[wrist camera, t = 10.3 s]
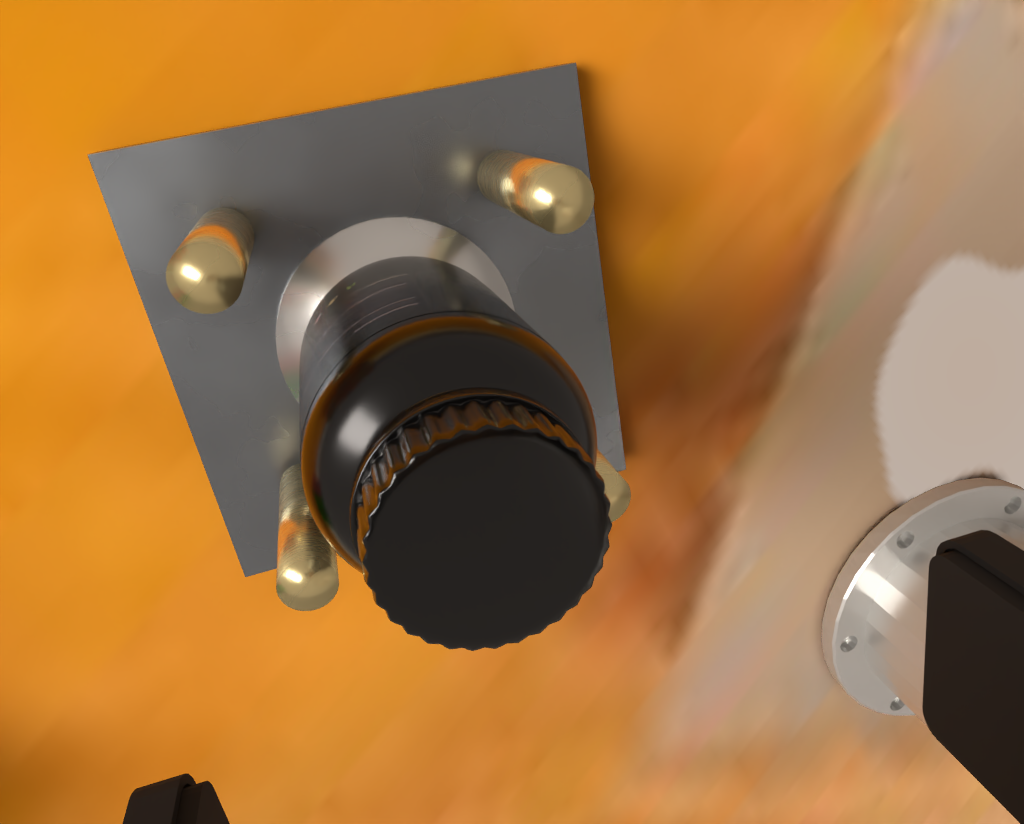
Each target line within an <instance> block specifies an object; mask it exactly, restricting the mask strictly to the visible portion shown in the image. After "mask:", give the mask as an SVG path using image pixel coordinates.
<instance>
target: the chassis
mask: <svg viewBox="0 0 1024 824" xmlns="http://www.w3.org/2000/svg"><path fill="white" fill-rule="evenodd" d="M88 157H89V160H90V163H91V165H92V168H93V171H94V173H95V176H96V179H97V181H98V184H99V187H100V189H101V192H102V195H103V197H104V200H105V203H106V205H107V208H108V211H109V214H110V216H111V219H112V222H113V224H114V227H115V230H116V232H117V235H118V238H119V240H120V243H121V246H122V248H123V251H124V254H125V256H126V259H127V262H128V264H129V267H130V270H131V272H132V275H133V278H134V280H135V283H136V286H137V288H138V291H139V294H140V296H141V299H142V302H143V304H144V307H145V310H146V313H147V315H148V318H149V321H150V323H151V326H152V329H153V331H154V334H155V337H156V339H157V342H158V345H159V347H160V350H161V353H162V355H163V358H164V361H165V363H166V366H167V369H168V371H169V374H170V377H171V379H172V382H173V385H174V387H175V390H176V393H177V395H178V398H179V401H180V403H181V406H182V409H183V411H184V414H185V417H186V420H187V422H188V425H189V428H190V430H191V433H192V436H193V438H194V441H195V444H196V446H197V449H198V452H199V454H200V457H201V460H202V462H203V465H204V468H205V470H206V473H207V476H208V478H209V481H210V484H211V486H212V489H213V492H214V494H215V497H216V500H217V502H218V505H219V508H220V510H221V513H222V516H223V518H224V521H225V524H226V527H227V529H228V532H229V535H230V537H231V540H232V543H233V545H234V548H235V551H236V553H237V556H238V559H239V561H240V564H241V567H242V569H243V572H244V575H245V577H247V576H251V575H255V574H258V573H262V572H265V571H269V570H272V569H276V568H277V585H276V588H277V594H278V596H279V598H280V599H281V601H282V602H283V603H284V604H285V605H287V606H288V607H290V608H292V609H295V610H300V611H311V610H316V609H319V608H321V607H323V606H325V605H326V604H328V603H329V602H330V601H331V600H332V599H333V598H334V596H335V595H336V593H337V591H338V587H339V579H338V568H337V558H336V551H335V550H334V549H333V548H332V547H331V546H330V545H329V543H328V542H327V541H326V539H325V538H324V536H323V535H322V534H321V532H320V530H319V529H318V527H317V525H316V523H315V522H314V519H313V517H312V515H311V513H310V510H309V508H308V504H307V501H306V498H305V494H304V489H303V483H302V478H301V468H300V424H299V364H300V352H301V345H302V341H303V337H304V333H305V330H306V328H307V325H308V322H309V320H310V318H311V316H312V314H313V312H314V310H315V309H316V307H317V306H318V304H319V303H320V301H321V300H322V299H323V297H324V296H325V295H326V294H327V293H328V292H329V291H330V290H331V289H332V287H334V286H335V285H336V284H337V283H338V282H339V281H340V280H342V279H343V278H345V277H346V276H347V275H349V274H350V273H352V272H354V271H355V270H357V269H359V268H361V267H363V266H366V265H368V264H370V263H373V262H376V261H379V260H383V259H388V258H392V257H401V256H419V257H428V258H433V259H438V260H441V261H445V262H447V263H450V264H452V265H455V266H457V267H459V268H461V269H463V270H465V271H467V272H468V273H470V274H471V275H473V276H474V277H476V278H477V279H478V280H480V281H481V282H482V283H483V284H485V285H486V286H487V287H488V288H490V289H491V290H492V291H493V292H494V293H495V294H496V295H497V296H498V297H499V298H500V299H502V300H503V301H504V302H505V303H506V304H507V305H508V306H509V307H510V308H511V309H512V310H513V311H515V312H516V313H517V314H518V315H519V316H520V317H521V318H522V319H523V320H524V321H525V322H527V323H528V324H529V325H530V326H531V327H532V328H533V329H534V330H535V331H536V332H537V333H538V334H540V335H541V336H542V337H543V338H544V339H545V340H546V341H547V342H548V343H549V344H550V345H551V346H552V347H553V348H554V349H555V350H556V351H557V352H558V353H559V354H560V355H561V356H562V357H563V358H564V360H565V361H566V362H567V363H568V365H569V366H570V367H571V368H572V370H573V371H574V372H575V374H576V375H577V377H578V379H579V380H580V382H581V383H582V386H583V388H584V390H585V392H586V394H587V396H588V399H589V402H590V404H591V407H592V411H593V415H594V419H595V424H596V432H597V460H596V467H595V469H596V471H597V472H598V473H599V474H600V475H601V477H602V478H603V480H604V483H605V492H604V493H605V494H606V495H607V497H608V498H609V500H610V503H611V504H610V510H609V514H608V515H609V517H610V520H611V522H613V521H615V520H616V519H618V518H619V517H620V516H621V515H622V514H623V513H624V512H625V511H626V509H627V507H628V505H629V502H630V498H631V492H630V488H629V486H628V484H627V482H626V481H625V480H624V479H623V478H622V476H621V475H620V474H619V473H618V471H622V470H625V469H626V465H625V457H624V449H623V441H622V433H621V425H620V417H619V409H618V400H617V392H616V384H615V376H614V368H613V360H612V352H611V343H610V335H609V327H608V319H607V311H606V303H605V295H604V287H603V278H602V270H601V262H600V254H599V246H598V238H597V230H596V222H595V213H594V190H593V187H592V184H591V181H590V173H589V165H588V157H587V148H586V140H585V132H584V124H583V116H582V108H581V100H580V91H579V83H578V75H577V67H576V63H569V64H562V65H556V66H551V67H546V68H540V69H535V70H530V71H524V72H519V73H514V74H509V75H503V76H498V77H493V78H487V79H482V80H477V81H471V82H466V83H461V84H456V85H450V86H445V87H440V88H434V89H429V90H424V91H418V92H413V93H408V94H402V95H397V96H392V97H387V98H381V99H376V100H371V101H365V102H360V103H355V104H349V105H344V106H339V107H334V108H328V109H323V110H318V111H312V112H307V113H302V114H296V115H291V116H286V117H281V118H275V119H270V120H265V121H259V122H254V123H249V124H243V125H238V126H233V127H228V128H222V129H217V130H212V131H206V132H201V133H196V134H190V135H185V136H180V137H175V138H169V139H164V140H159V141H153V142H148V143H143V144H137V145H132V146H127V147H122V148H116V149H111V150H106V151H100V152H96V153H92V154H89V155H88Z"/></svg>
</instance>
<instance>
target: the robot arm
mask: <svg viewBox="0 0 1024 824" xmlns="http://www.w3.org/2000/svg"><path fill="white" fill-rule="evenodd" d="M821 642H822V648H823V653H824V659H825V662H826V664H827V666H828V668H829V671H830V673H831V675H832V677H833V678H834V679H835V680H836V681H837V682H838V684H839V685H840V686H841V687H842V688H843V689H844V691H845V692H846V693H847V694H848V695H849V696H850V697H851V698H853V699H854V700H855V701H856V702H857V703H859V704H860V705H861V706H863V707H865V708H868V709H870V710H872V711H874V712H877V713H881V714H886V715H892V716H904V715H916V716H917V717H918V718H919V719H920V720H921V721H922V722H923V723H924V724H925V725H926V726H927V727H928V728H929V729H930V731H931V732H932V734H933V735H934V736H935V737H936V739H937V740H938V741H939V742H940V743H941V744H942V745H943V746H944V747H945V748H946V749H947V750H948V751H949V752H950V753H951V754H952V755H953V756H954V757H955V758H956V759H957V760H958V761H959V762H960V763H961V764H962V765H963V766H964V767H965V768H966V769H967V770H968V771H969V772H970V773H971V774H972V775H973V776H974V777H975V778H976V779H977V780H978V781H979V782H980V783H981V784H982V785H983V786H984V787H985V788H986V789H987V790H988V791H989V792H990V793H991V794H992V795H993V796H994V797H995V798H996V799H997V800H998V801H999V802H1000V803H1001V804H1002V805H1003V806H1004V807H1005V808H1006V809H1007V810H1008V811H1009V812H1010V813H1011V814H1012V815H1013V816H1014V817H1015V818H1016V819H1017V821H1018V822H1019V823H1020V824H1024V489H1023V488H1021V487H1019V486H1017V485H1014V484H1012V483H1009V482H1006V481H1003V480H1000V479H989V478H973V479H965V480H958V481H954V482H951V483H948V484H945V485H941V486H938V487H935V488H933V489H931V490H929V491H927V492H925V493H923V494H921V495H919V496H917V497H915V498H913V499H911V500H909V501H908V502H906V503H905V504H904V505H902V506H901V507H899V508H898V509H896V510H895V511H893V512H892V513H891V514H889V515H888V516H887V517H886V518H885V519H884V520H882V521H881V522H880V523H879V524H878V525H877V526H876V527H875V528H874V529H873V530H871V531H870V532H869V533H868V534H867V536H866V537H865V538H864V539H863V540H862V542H861V543H860V544H859V545H858V546H857V548H856V549H855V550H854V551H853V552H852V554H851V555H850V557H849V558H848V560H847V562H846V563H845V565H844V567H843V568H842V570H841V571H840V573H839V575H838V576H837V579H836V581H835V583H834V586H833V588H832V590H831V593H830V595H829V597H828V600H827V604H826V609H825V613H824V617H823V621H822V641H821ZM123 824H229V821H228V819H227V817H226V815H225V812H224V810H223V808H222V806H221V803H220V801H219V799H218V797H217V794H216V792H215V790H214V788H213V786H212V784H211V783H210V782H209V781H205V782H202V783H198V784H196V783H195V781H194V779H193V778H192V776H190V775H189V774H183V775H179V776H176V777H173V778H169V779H166V780H163V781H160V782H156V783H153V784H150V785H147V786H143V787H140V788H137V789H135V790H134V791H133V793H132V794H131V797H130V799H129V802H128V806H127V809H126V813H125V817H124V821H123Z"/></svg>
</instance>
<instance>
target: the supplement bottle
mask: <svg viewBox="0 0 1024 824" xmlns="http://www.w3.org/2000/svg"><path fill="white" fill-rule="evenodd" d="M299 424H300V468H301V478H302V483H303V489H304V494H305V498H306V501H307V504H308V508H309V510H310V513H311V515H312V517H313V519H314V522H315V523H316V525H317V527H318V529H319V530H320V532H321V534H322V535H323V536H324V538H325V539H326V541H327V542H328V543H329V545H330V546H331V547H332V548H333V549H334V550H335V551H336V552H337V554H338V555H339V556H340V557H342V558H343V559H344V560H345V561H346V562H347V563H348V564H350V565H351V566H352V567H354V568H355V569H357V570H358V571H359V572H361V573H362V574H363V575H364V580H365V582H366V584H367V585H368V586H369V587H370V589H372V593H373V598H374V601H375V603H376V604H377V605H378V606H379V607H381V608H383V609H385V611H386V614H387V616H388V618H389V620H390V621H392V622H394V623H396V624H399V625H402V626H403V628H404V630H405V631H406V632H407V634H410V635H414V636H420V637H421V638H422V639H423V640H424V641H425V642H427V643H428V644H441V645H443V646H444V647H446V648H448V649H456V648H465V649H467V650H471V651H474V650H478V649H481V648H484V647H486V648H493V649H496V648H498V647H501V646H503V645H505V644H507V643H519V642H520V641H522V640H523V639H525V638H526V637H527V636H529V635H534V634H538V633H541V632H542V631H543V630H544V629H545V628H546V627H547V626H548V625H549V624H552V623H555V622H557V621H559V620H561V618H562V617H563V616H564V614H565V613H566V611H568V610H569V609H571V608H573V607H575V606H576V605H577V604H578V602H579V601H580V599H581V596H582V595H583V594H584V593H585V592H586V591H588V590H589V589H590V588H591V587H592V584H593V581H594V576H595V575H596V574H597V573H598V572H599V571H600V570H601V568H602V567H603V556H604V555H605V553H606V552H607V550H608V548H609V540H608V534H609V532H610V530H611V527H612V523H611V520H610V517H609V515H608V514H609V510H610V504H611V503H610V500H609V498H608V497H607V495H606V494H605V493H604V492H605V483H604V480H603V478H602V477H601V475H600V474H599V473H598V472H597V471H596V469H595V467H596V460H597V432H596V424H595V419H594V415H593V411H592V407H591V404H590V402H589V399H588V396H587V394H586V392H585V390H584V388H583V386H582V383H581V382H580V380H579V379H578V377H577V375H576V374H575V372H574V371H573V370H572V368H571V367H570V366H569V365H568V363H567V362H566V361H565V360H564V358H563V357H562V356H561V355H560V354H559V353H558V352H557V351H556V350H555V349H554V348H553V347H552V346H551V345H550V344H549V343H548V342H547V341H546V340H545V339H544V338H543V337H542V336H541V335H540V334H538V333H537V332H536V331H535V330H534V329H533V328H532V327H531V326H530V325H529V324H528V323H527V322H525V321H524V320H523V319H522V318H521V317H520V316H519V315H518V314H517V313H516V312H515V311H513V310H512V309H511V308H510V307H509V306H508V305H507V304H506V303H505V302H504V301H503V300H502V299H500V298H499V297H498V296H497V295H496V294H495V293H494V292H493V291H492V290H491V289H490V288H488V287H487V286H486V285H485V284H483V283H482V282H481V281H480V280H478V279H477V278H476V277H474V276H473V275H471V274H470V273H468V272H467V271H465V270H463V269H461V268H459V267H457V266H455V265H452V264H450V263H447V262H445V261H441V260H438V259H433V258H428V257H419V256H401V257H392V258H388V259H383V260H379V261H376V262H373V263H370V264H368V265H366V266H363V267H361V268H359V269H357V270H355V271H354V272H352V273H350V274H349V275H347V276H346V277H345V278H343V279H342V280H340V281H339V282H338V283H337V284H336V285H335V286H334V287H332V289H331V290H330V291H329V292H328V293H327V294H326V295H325V296H324V297H323V299H322V300H321V301H320V303H319V304H318V306H317V307H316V309H315V310H314V312H313V314H312V316H311V318H310V320H309V322H308V325H307V328H306V330H305V333H304V337H303V341H302V345H301V352H300V364H299Z"/></svg>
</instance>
